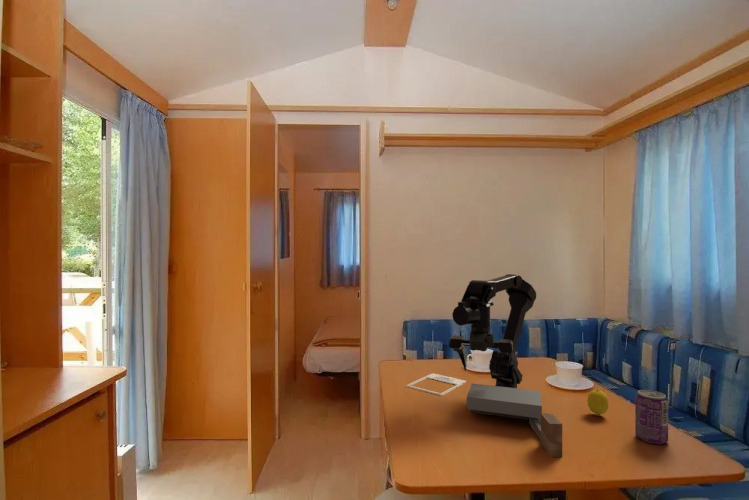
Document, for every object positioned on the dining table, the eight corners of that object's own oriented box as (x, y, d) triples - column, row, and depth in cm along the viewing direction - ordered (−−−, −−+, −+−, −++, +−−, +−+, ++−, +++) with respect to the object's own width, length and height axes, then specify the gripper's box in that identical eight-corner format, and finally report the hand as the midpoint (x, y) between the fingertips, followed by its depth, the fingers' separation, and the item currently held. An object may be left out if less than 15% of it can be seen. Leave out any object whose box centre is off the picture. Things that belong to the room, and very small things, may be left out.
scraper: (536, 424, 115) (536, 396, 115) (562, 457, 97) (562, 423, 97) (525, 423, 116) (525, 396, 116) (549, 456, 98) (549, 423, 98)
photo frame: (466, 380, 151) (441, 394, 138) (466, 383, 151) (441, 397, 138) (432, 372, 161) (406, 384, 147) (432, 375, 161) (406, 387, 147)
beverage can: (662, 435, 108) (662, 390, 108) (672, 448, 101) (672, 400, 101) (632, 431, 111) (632, 387, 110) (639, 443, 104) (639, 397, 104)
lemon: (607, 413, 122) (607, 387, 122) (609, 421, 117) (609, 393, 117) (586, 410, 125) (586, 384, 125) (587, 417, 120) (588, 390, 120)
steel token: (535, 421, 118) (535, 415, 118) (554, 425, 115) (554, 419, 115) (531, 427, 114) (531, 421, 114) (550, 431, 111) (550, 426, 111)
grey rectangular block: (540, 416, 121) (540, 390, 121) (541, 433, 110) (541, 405, 110) (471, 407, 128) (471, 383, 128) (466, 422, 117) (466, 396, 116)
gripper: (445, 324, 121) (445, 376, 121) (511, 328, 114) (511, 383, 114) (451, 317, 131) (451, 366, 131) (512, 321, 125) (512, 372, 125)
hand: (480, 371), depth 125 cm, fingers open, 9 cm apart
